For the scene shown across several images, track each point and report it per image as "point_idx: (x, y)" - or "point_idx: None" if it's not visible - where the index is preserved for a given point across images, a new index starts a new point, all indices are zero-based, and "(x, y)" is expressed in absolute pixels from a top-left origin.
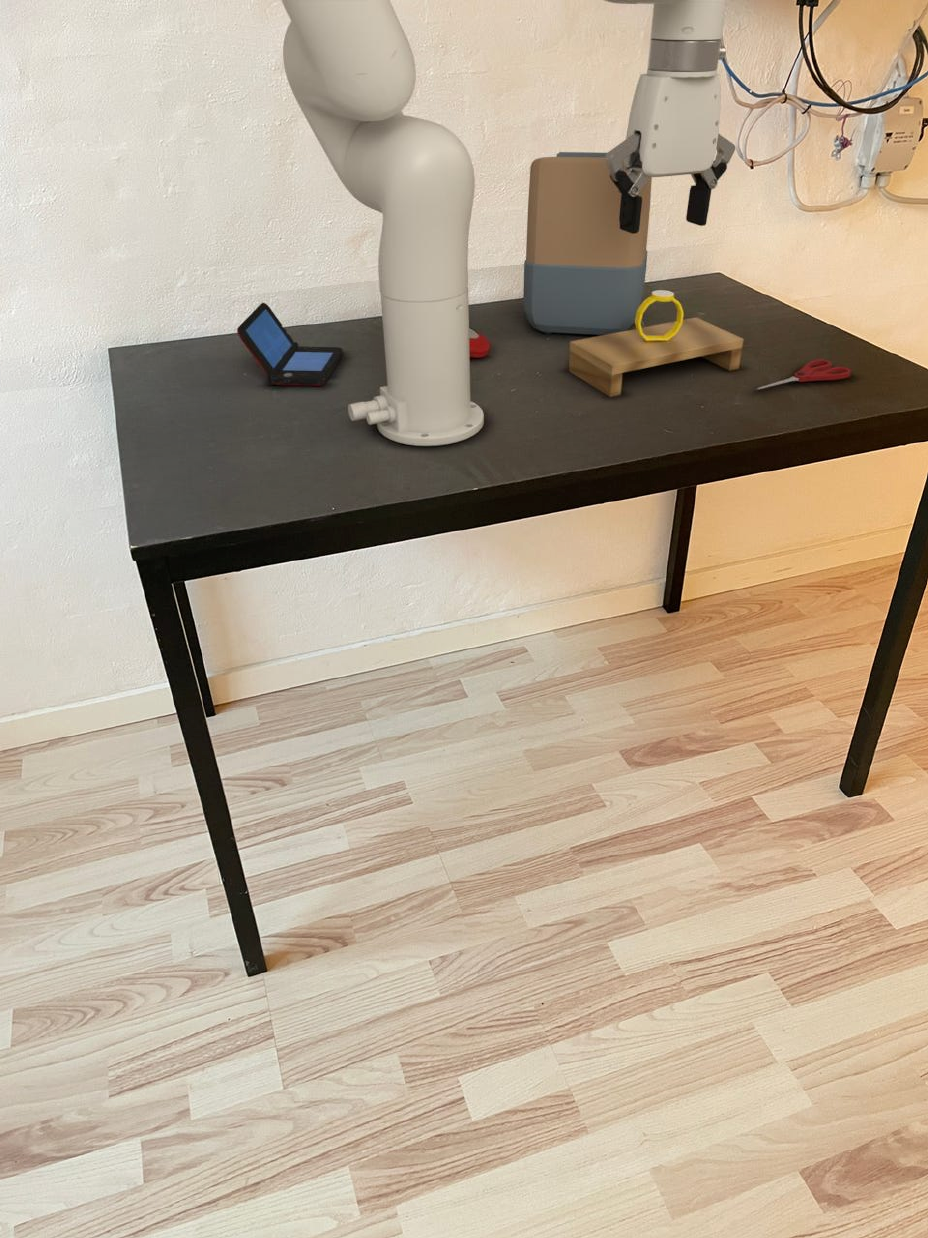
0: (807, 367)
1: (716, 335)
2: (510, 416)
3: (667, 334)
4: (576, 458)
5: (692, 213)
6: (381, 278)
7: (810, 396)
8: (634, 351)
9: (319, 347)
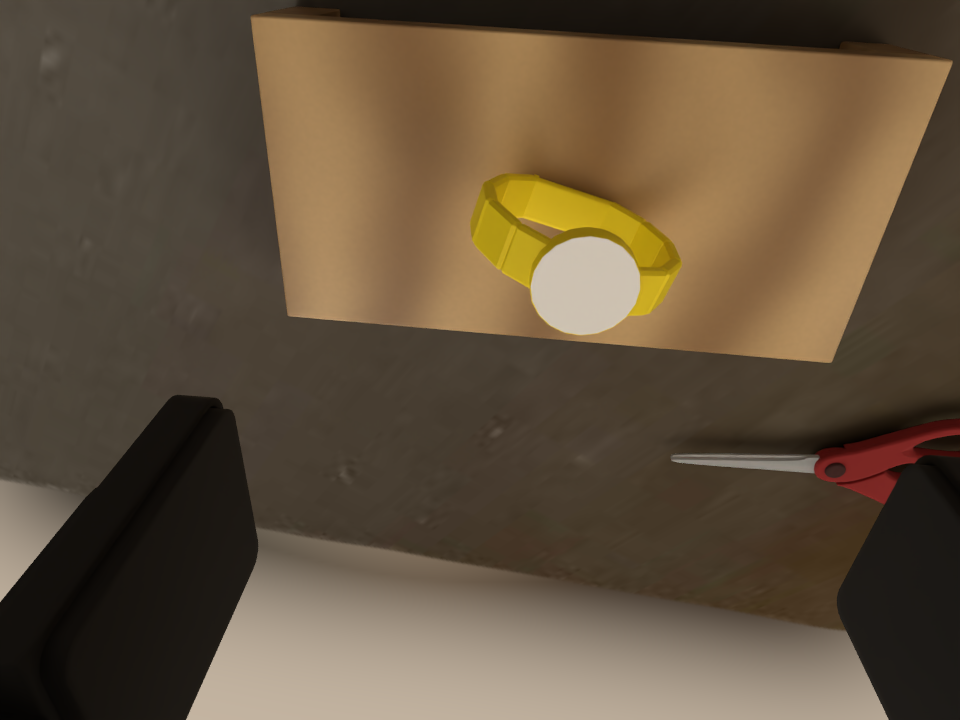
0: (900, 450)
1: (790, 291)
2: (8, 231)
3: (615, 224)
4: (112, 467)
5: (915, 572)
6: None
7: (759, 513)
8: (423, 255)
9: None
